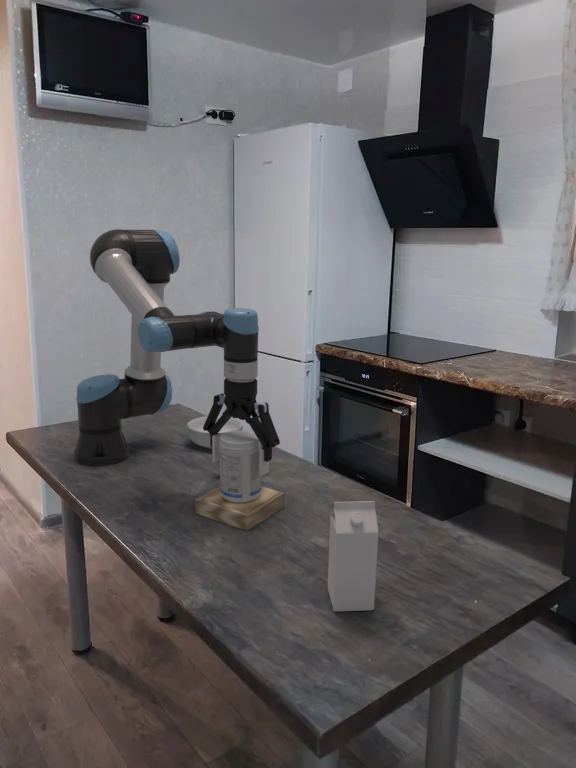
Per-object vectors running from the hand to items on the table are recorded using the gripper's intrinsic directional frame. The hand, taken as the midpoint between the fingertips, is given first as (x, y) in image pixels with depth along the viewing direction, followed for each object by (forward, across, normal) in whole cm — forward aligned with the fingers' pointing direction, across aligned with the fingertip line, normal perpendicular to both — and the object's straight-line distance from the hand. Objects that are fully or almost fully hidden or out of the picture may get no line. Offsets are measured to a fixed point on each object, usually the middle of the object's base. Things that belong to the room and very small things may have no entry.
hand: (240, 467), depth 140 cm
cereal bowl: (+12, -34, +32) cm, 48 cm away
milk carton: (+10, +38, -18) cm, 44 cm away
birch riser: (+11, 0, 0) cm, 11 cm away
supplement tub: (+7, 0, 0) cm, 7 cm away
